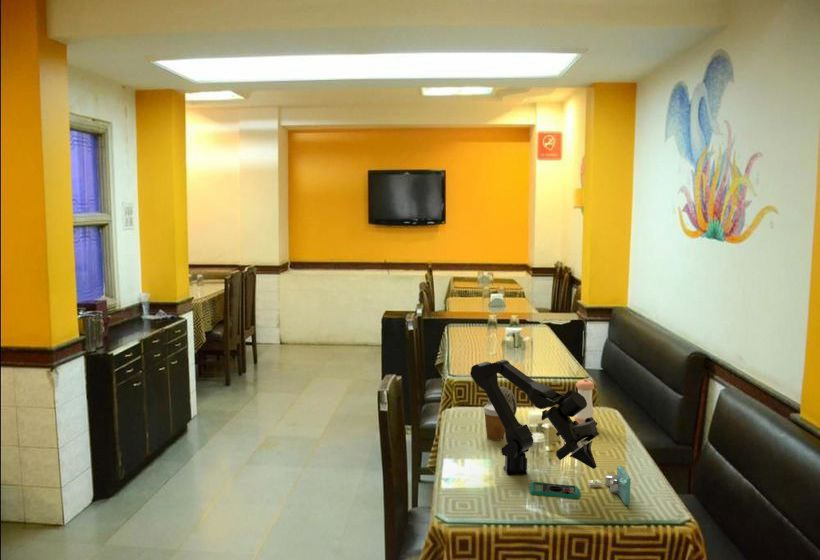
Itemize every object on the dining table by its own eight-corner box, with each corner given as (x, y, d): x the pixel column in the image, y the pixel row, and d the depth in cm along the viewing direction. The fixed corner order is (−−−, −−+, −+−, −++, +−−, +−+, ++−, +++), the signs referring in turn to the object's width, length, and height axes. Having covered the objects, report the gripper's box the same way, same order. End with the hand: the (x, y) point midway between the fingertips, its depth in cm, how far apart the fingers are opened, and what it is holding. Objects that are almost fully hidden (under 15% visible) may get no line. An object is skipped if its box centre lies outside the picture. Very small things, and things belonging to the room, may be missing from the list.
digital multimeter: (580, 504, 197) (580, 495, 197) (529, 499, 200) (529, 490, 200) (579, 493, 204) (579, 484, 204) (530, 489, 207) (530, 480, 207)
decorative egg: (508, 429, 259) (509, 392, 257) (482, 424, 265) (482, 387, 263) (521, 421, 268) (521, 385, 266) (494, 416, 275) (495, 381, 273)
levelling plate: (601, 506, 195) (602, 493, 194) (586, 486, 208) (586, 474, 207) (634, 505, 195) (635, 492, 195) (616, 485, 209) (617, 473, 208)
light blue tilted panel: (608, 488, 204) (609, 461, 203) (622, 488, 204) (623, 462, 203) (619, 506, 192) (620, 478, 191) (634, 506, 192) (636, 478, 191)
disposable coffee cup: (512, 436, 252) (512, 405, 250) (501, 443, 244) (502, 412, 242) (489, 431, 257) (489, 401, 255) (478, 438, 249) (478, 408, 247)
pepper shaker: (595, 428, 260) (597, 381, 257) (576, 428, 260) (578, 381, 257) (590, 422, 267) (592, 376, 265) (572, 422, 267) (574, 376, 265)
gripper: (567, 418, 194) (600, 464, 188) (594, 403, 208) (626, 446, 202) (542, 437, 200) (574, 482, 194) (570, 421, 214) (601, 463, 208)
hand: (595, 467), depth 200 cm, fingers closed
